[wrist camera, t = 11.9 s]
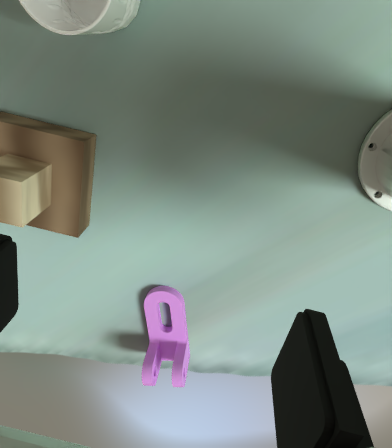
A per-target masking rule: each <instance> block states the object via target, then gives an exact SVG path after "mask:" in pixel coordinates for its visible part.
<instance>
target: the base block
mask: <svg viewBox="0 0 392 448" xmlns="http://www.w3.org/2000/svg"><path fill="white" fill-rule="evenodd" d="M95 147H96V135H95V134H91V133H87V132H83V131H79V130H75V129H71V128H67V127H63V126H58V125H54V124H50V123H46V122H42V121H38V120H34V119H30V118H26V117H21V116H17V115H13V114H9V113H5V112H1V111H0V157H2V156H4V155H6V154H11V155H15V156H19V157H24V158H28V159H32V160H36V161H41V162H45V163H49V164H52V173H51V205H50V206H49V207H47V208H46V209H45V210H44V211H42V212H41V213H40V214H39V215H37V216H36V217H35V218H34V219H32V220H31V221H30V222H29V223H28V224H26V225H28V226H32V227H37V228H41V229H45V230H49V231H53V232H57V233H61V234H65V235H69V236H73V237H77V238H78V237H79V236H80V235H81V234H82V233H83V231H84V230H85V229H86V228H87V227H88V226H89V221H90V208H91V196H92V184H93V171H94V159H95Z"/></svg>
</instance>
